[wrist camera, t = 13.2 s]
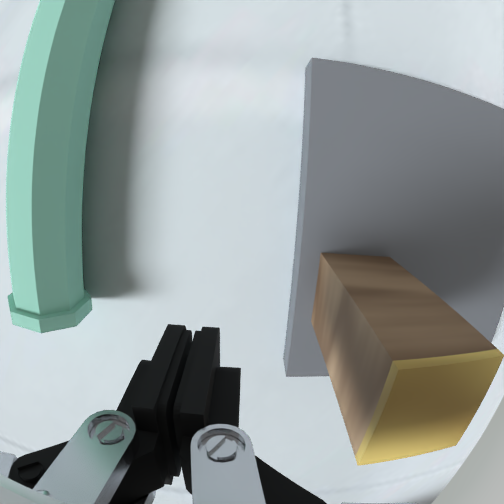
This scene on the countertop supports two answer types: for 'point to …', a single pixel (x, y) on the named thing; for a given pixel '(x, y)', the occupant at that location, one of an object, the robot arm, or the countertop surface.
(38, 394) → the countertop surface
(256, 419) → the countertop surface
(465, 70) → the countertop surface
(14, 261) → the container
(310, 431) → the countertop surface
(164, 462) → the robot arm
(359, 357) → the block
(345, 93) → the board
